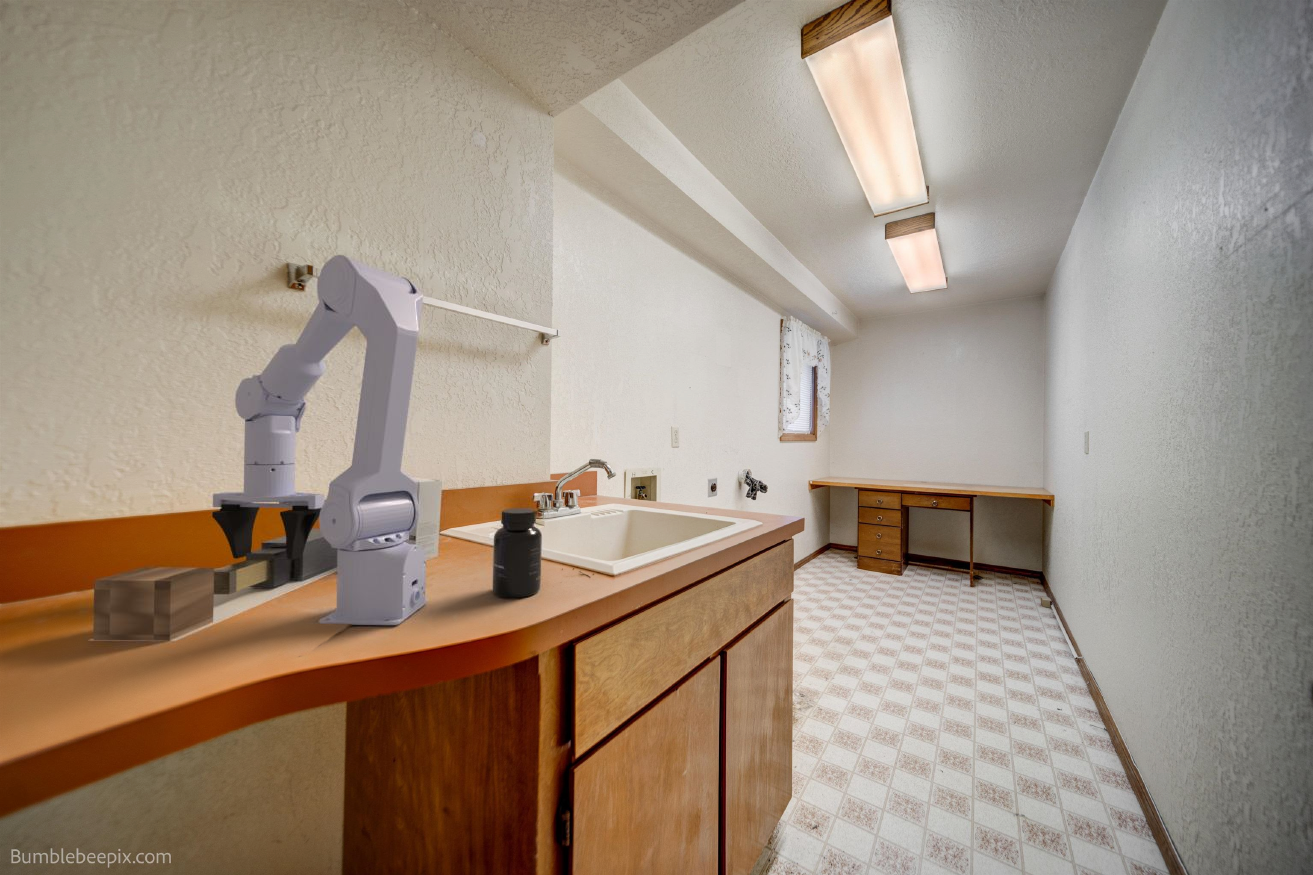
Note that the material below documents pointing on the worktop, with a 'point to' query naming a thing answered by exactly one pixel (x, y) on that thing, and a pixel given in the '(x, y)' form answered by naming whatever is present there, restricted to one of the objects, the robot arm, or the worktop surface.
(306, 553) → the sleeve
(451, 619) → the worktop surface
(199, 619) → the socket
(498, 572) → the supplement bottle
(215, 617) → the board
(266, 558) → the plug
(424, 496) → the skincare box
